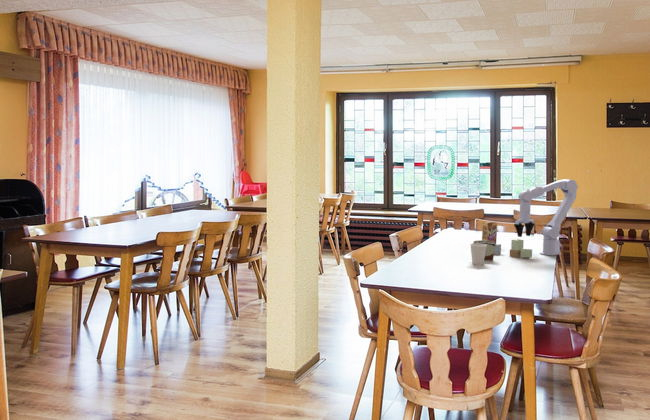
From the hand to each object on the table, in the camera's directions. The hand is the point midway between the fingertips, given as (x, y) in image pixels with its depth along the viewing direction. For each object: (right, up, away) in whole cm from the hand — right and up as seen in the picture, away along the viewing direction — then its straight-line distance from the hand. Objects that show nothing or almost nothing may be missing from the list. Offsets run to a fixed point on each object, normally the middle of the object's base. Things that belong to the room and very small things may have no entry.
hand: (523, 236), depth 357 cm
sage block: (-6, -7, -6) cm, 11 cm away
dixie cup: (-33, -13, -30) cm, 46 cm away
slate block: (-15, -10, +3) cm, 19 cm away
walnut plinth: (-5, -11, -6) cm, 14 cm away
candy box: (-12, -8, +29) cm, 33 cm away
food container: (-26, -12, -17) cm, 34 cm away
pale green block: (-3, -12, -12) cm, 17 cm away
